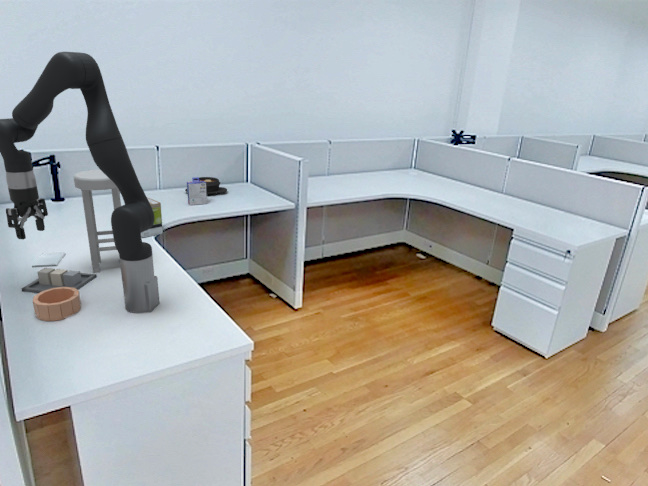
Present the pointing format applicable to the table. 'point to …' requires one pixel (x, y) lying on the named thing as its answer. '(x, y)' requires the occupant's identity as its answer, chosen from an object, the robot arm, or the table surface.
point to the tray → (38, 288)
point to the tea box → (157, 224)
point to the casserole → (212, 185)
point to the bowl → (56, 303)
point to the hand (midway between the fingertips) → (31, 234)
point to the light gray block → (72, 278)
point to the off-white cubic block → (58, 277)
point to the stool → (86, 184)
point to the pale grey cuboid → (45, 276)
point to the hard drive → (49, 259)
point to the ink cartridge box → (196, 192)
